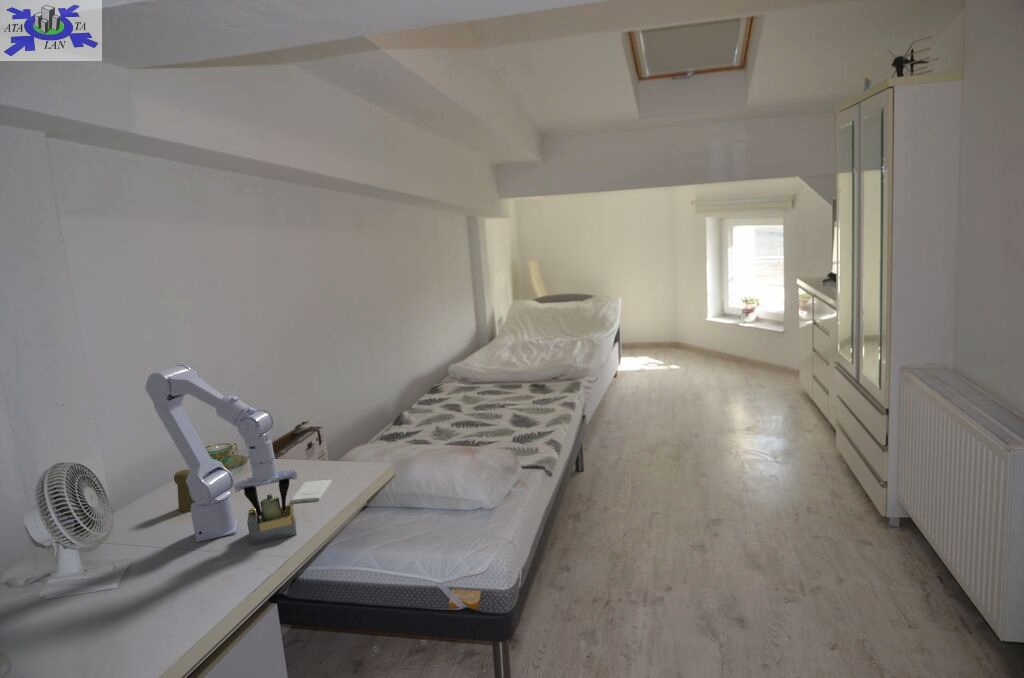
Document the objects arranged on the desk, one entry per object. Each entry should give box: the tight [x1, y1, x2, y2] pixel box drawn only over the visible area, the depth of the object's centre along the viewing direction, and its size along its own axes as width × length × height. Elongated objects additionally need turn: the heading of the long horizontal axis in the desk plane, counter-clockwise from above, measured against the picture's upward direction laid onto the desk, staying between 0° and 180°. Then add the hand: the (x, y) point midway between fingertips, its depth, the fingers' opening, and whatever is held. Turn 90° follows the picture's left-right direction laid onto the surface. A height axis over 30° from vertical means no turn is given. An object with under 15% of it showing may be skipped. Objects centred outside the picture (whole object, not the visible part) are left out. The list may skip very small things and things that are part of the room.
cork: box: [173, 468, 196, 513], centre depth 185 cm, size 6×6×11 cm
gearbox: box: [246, 503, 297, 546], centre depth 163 cm, size 10×8×7 cm
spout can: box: [259, 493, 282, 521], centre depth 163 cm, size 4×4×6 cm
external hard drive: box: [290, 479, 333, 504], centre depth 188 cm, size 2×8×12 cm
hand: (271, 511), depth 163 cm, fingers open, 5 cm apart
